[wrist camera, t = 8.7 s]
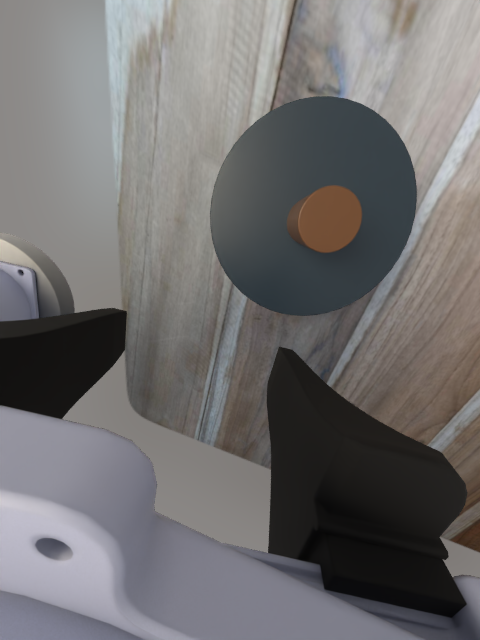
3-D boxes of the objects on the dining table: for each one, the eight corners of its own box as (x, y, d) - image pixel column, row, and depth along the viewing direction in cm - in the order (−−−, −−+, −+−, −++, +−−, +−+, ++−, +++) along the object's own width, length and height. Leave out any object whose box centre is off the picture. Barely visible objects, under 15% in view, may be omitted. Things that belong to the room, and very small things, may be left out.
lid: (200, 289, 16) (174, 317, 11) (234, 83, 12) (217, -12, 7) (359, 326, 16) (402, 370, 11) (443, 134, 12) (565, 74, 7)
